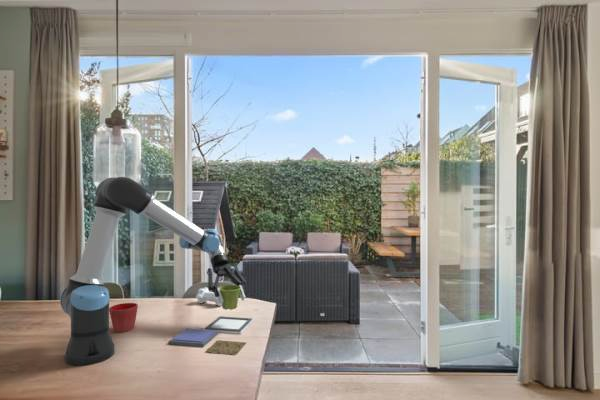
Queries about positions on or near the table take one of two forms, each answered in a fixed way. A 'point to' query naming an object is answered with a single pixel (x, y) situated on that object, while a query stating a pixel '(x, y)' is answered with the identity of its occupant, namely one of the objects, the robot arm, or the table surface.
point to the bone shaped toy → (206, 296)
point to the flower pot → (123, 316)
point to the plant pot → (230, 296)
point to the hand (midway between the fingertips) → (232, 300)
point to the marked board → (230, 324)
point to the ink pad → (194, 337)
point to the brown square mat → (225, 347)
